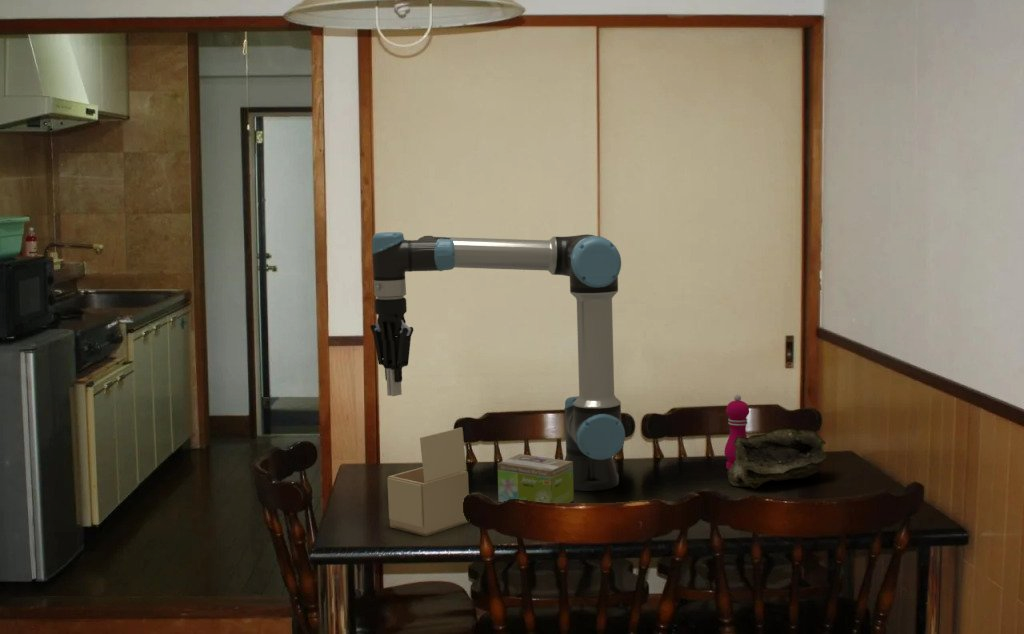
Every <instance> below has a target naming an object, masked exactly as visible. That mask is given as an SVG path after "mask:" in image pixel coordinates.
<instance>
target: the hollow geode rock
mask: <svg viewBox="0 0 1024 634" xmlns="http://www.w3.org/2000/svg"><path fill="white" fill-rule="evenodd" d="M826 444H827V443H826V441H825V440H824V439H823V438H822V437H821V436H820V435H819V434H818V432H816V431H813V430H810V429H809V430H808V429H795V428H791V427H782V428H775V429H772V430H770V431H767V432H766V433H762V434H753V435H750V436H747V438H746V437H743V436H740V437H737V438H736V440H735V442H734V443H733V446H736V449H735V452H734V453H735V455H736V460H735V462H734V464H733V465H732V466H731V468H730V469H729V470H728V469H727V477H728V482H729V483H730V485H732V486H735V487H742V488H752V489H756V488H758V487H760V486H761V485H762V484H764V483H767V482H769V481H773V482H780V481H781V482H782V481H787V480H793V479H795V480H796V479H797V480H798V479H804V478H808V477H809V476H811V475H815V474H816V473H818V472H819V470H820V468H821V465H822V462H823V460H825V459H826V458H827V457H828V454H829V453H826V452H825V450H824V448H823V447H824V445H826Z"/></svg>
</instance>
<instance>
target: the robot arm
mask: <svg viewBox="0 0 1024 634" xmlns="http://www.w3.org/2000/svg"><path fill="white" fill-rule="evenodd" d="M404 236H405V235H404V233H403V232H399V231H398V232H397V231H393V232H391V231H389V232H387V231H386V232H378V233H375V234H374V235H373V236H372V239H371V240H372V242H371V243H372V244H371V245H372V246H371V248H372V249H371V252H372V253H371V257H372V270H373V273H372V274H373V288H374V289H373V290H374V291H373V294H374V297H376V298H375V299H374V313H375V314H376V315H377V316H378V317H377V319H376V320H377V321H376V322H375V323H374V324H370V330H371V333H372V335H373V339H374V346H375V351H376V356H377V357H376V358H377V362H378V364H379V366H380V365H381V366H383V368H384V373H385V375H384V376H385V381H386V392H387V393H386V395H387V396H389V397H390V396H391V397H397V396H402V394H403V393H402V382H403V368H405V367H407V366H409V360H410V359H409V357H410V350H411V340H412V335H413V332H414V328H413V327H412V326H408V325H407V324H406V319H405V314H406V313H407V310H408V309H407V307H408V306H407V298H406V297H405V296H406V295H407V286H406V285H407V284H406V272H407V273H408V272H411V273H412V272H433V271H435V272H438V271H439V272H443V271H450V270H453V269H454V268H459V269H461V268H463V269H487V270H488V269H490V270H491V269H493V270H523V271H526V270H527V271H545V272H546V271H548V272H549V273H550V274H551V275H553V276H554V275H555V276H556V275H557V276H566V277H569V293H570V294H571V295H572V296H573V297H574V298H575V299H576V324H577V325H576V326H577V329H576V330H577V357H578V358H577V360H578V363H577V364H578V391H579V392H578V394H579V395H578V396H570V397H568V398H566V400H565V401H564V409H563V410H564V417H565V418H564V420H565V421H564V422H565V424H564V425H565V457H564V460H565V461H573V490H574V491H577V492H597V491H606V490H610V489H613V488H616V487H617V486H618V485H619V484H620V483H619V482H620V480H619V477H620V476H619V473H618V471H617V469H616V464H615V463H614V462H615V460H614V459H613V457H615V456H616V455H617V454H618V453H619V452H620V451H621V450H622V448H623V446H624V444H625V440H626V431H625V427H624V425H623V423H622V407H621V406H622V405H621V401H620V400H619V398H618V397H617V396H616V395H615V374H614V372H615V369H614V368H615V367H614V329H613V324H614V323H613V298H614V296H615V295H617V293H618V292H619V274H620V273H621V269H622V258H621V257H622V256H621V254H620V251H619V250H618V248H617V246H616V245H615V244H614V243H613V242H612V241H610V240H609V239H608V238H606V237H603V236H600V235H598V236H597V235H594V234H577V235H571V236H570V235H569V236H552V237H551V238H550V239H547V240H546V239H544V240H543V239H518V238H517V239H516V238H515V239H514V238H512V239H510V238H486V237H485V238H483V237H482V238H481V237H478V238H477V237H454V236H452V237H446V236H434V235H424V236H421V237H419V238H418V239H413V240H411V239H409V240H408V239H405V237H404Z"/></svg>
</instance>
